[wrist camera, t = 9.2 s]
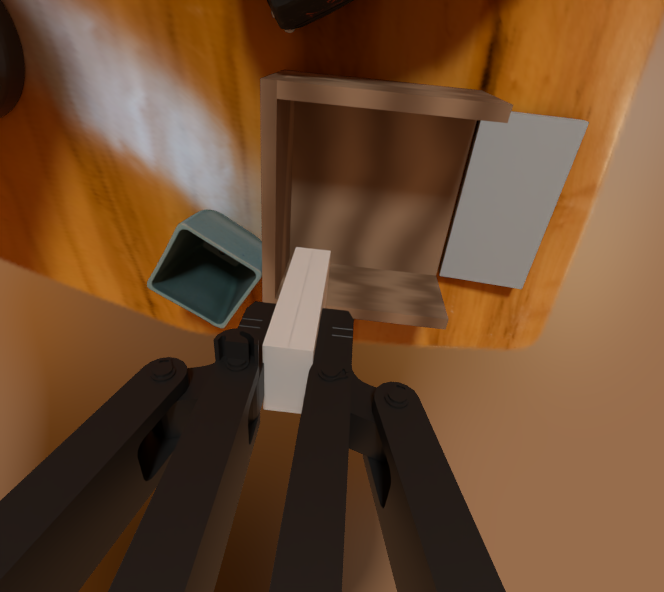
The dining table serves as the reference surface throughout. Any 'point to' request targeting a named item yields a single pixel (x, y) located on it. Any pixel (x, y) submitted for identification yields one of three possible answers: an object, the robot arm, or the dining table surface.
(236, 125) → the dining table surface
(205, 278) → the flower pot
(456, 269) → the panel
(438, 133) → the crate
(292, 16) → the toy van
